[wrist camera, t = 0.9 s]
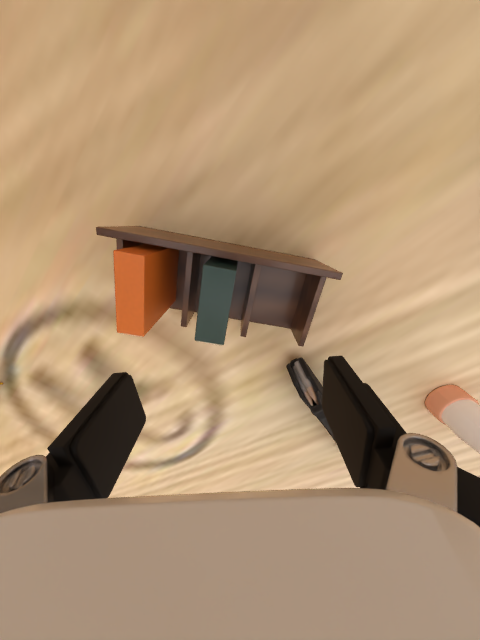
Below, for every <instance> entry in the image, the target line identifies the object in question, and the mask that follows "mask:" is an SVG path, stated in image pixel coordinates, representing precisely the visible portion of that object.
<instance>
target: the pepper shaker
mask: <svg viewBox="0 0 480 640" xmlns="http://www.w3.org/2000/svg"><path fill="white" fill-rule="evenodd" d="M425 406H426V407H427V409H428V410H429V411H430V412H431V413H432V414H433V415H434V416H435V417H436V418H437V419H438V420H439V421H440V422H442V423H443V424H445V425H447V426H448V427H449V428H450V429H451V430H452V431H453V432H454V433H455V434H456V435H457V436H458V437H459V438H460V439H461V440H463V441H464V442H465V443H466V444H468V445H469V446H470V447H472V448H473V449H474V450H476V451H477V452H478V453H479V454H480V405H479V403H478V401H477V400H476V399H474V398H473V397H472V396H470V395H469V394H468V393H466V392H465V391H464V390H462V389H461V388H460V387H458V386H455V385H445V386H441V387H439V388H437V389H435V390H433V391H432V392H431V393H430V394H429V395H428V396H427V398H426V401H425Z"/></svg>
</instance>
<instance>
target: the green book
mask: <svg viewBox="0 0 480 640" xmlns="http://www.w3.org/2000/svg"><path fill="white" fill-rule="evenodd" d="M237 264H238V261H236V260H230V259H225V258H219V257H214V256H212V257H211V258H210V259H209V260H208V261H207V262H206V263H205V264H204V265H203V270H202V279H201V288H200V297H199V306H198V315H197V323H196V332H195V341H197V342H203V343H209V344H215V345H221V346H222V345H224V340H225V335H226V329H227V323H228V317H229V312H230V306H231V300H232V294H233V288H234V283H235V277H236V271H237Z"/></svg>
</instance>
